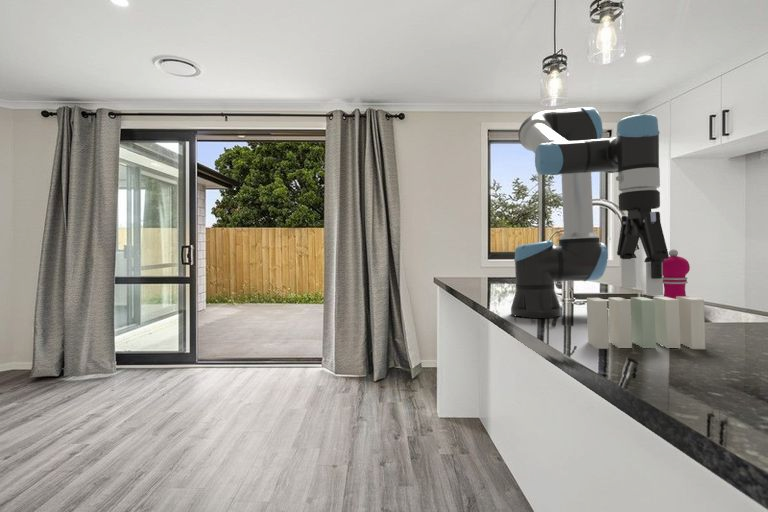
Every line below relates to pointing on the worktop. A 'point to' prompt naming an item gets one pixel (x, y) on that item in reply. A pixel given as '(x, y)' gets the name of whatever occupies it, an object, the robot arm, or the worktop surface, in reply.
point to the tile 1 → (597, 323)
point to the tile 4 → (667, 322)
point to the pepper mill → (675, 275)
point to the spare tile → (643, 322)
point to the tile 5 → (692, 322)
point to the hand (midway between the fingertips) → (640, 291)
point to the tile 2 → (620, 322)
